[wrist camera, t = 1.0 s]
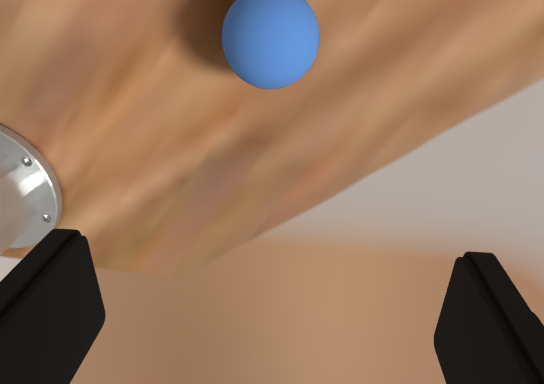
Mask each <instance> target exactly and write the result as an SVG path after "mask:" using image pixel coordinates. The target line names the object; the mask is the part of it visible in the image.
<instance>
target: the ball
mask: <svg viewBox="0 0 544 384" xmlns="http://www.w3.org/2000/svg"><path fill="white" fill-rule="evenodd" d="M222 46H223V51H224V55H225V57H226V60H227V62H228V64H229V65H230V67H231V68H232V70H233V71H234V72H235V73H236V74H237V75H238V76H239V77H240V78H241V79H242V80H244V81H245V82H247V83H248V84H250V85H252V86H255V87H258V88H263V89H278V88H283V87H286V86H288V85H290V84H292V83H294V82H296V81H297V80H299V79H300V78H301V77H302V76H303V75H304V74H305V73H306V72H307V71H308V70H309V68H310V67H311V65H312V63H313V61H314V59H315V57H316V54H317V51H318V46H319V28H318V23H317V20H316V17H315V15H314V13H313V11H312V9H311V7H310V6H309V5H308V3H307V2H306V1H305V0H236V1H235V2H234V3H233V4H232V6H231V7H230V8H229V10H228V12H227V14H226V17H225V19H224V23H223V27H222Z"/></svg>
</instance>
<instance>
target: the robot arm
mask: <svg viewBox="0 0 544 384" xmlns="http://www.w3.org/2000/svg"><path fill="white" fill-rule="evenodd" d="M61 213H62V194H61V190H60V186H59V183H58V181H57V179H56V176H55V174H54V172H53V171H52V169H51V168H50V166H49V164H48V163H47V161H46V160H45V159H44V158H43V157H42V155H41V154H40V153H39V152H38V151H37V150H36V149H35V148H34V147H33V146H32V145H31V144H30V143H29V142H27V141H26V140H25V139H24V138H22V137H21V136H19V135H18V134H16V133H15V132H13V131H12V130H10V129H8V128H6V127H4V126H2V125H0V254H1V253H2V252H4V251H5V250H6V249H7V248H22V247H28V246H31V245H34V244H36V243H38V242H39V243H38V244H37V245H36V246H35V247H34V248H33V249H32V250H31V251H30V252H29V253H28V254H27V255H26V256H25V257H24V258H23V259H22V260H21V261H20V262H19V263H18V264H17V265H16V266H15V267H14V268H13V269H12V270H11V272H9V274H8V275H7V276H6V277H5V278H4V279H3V280H2V281H1V282H0V384H70V382H71V380H72V379H73V377H74V375H75V373H76V372H77V370H78V368H79V366H80V365H81V363H82V361H83V360H84V358H85V356H86V354H87V353H88V351H89V349H90V347H91V346H92V343H93V342H94V340H95V339H96V337H97V335H98V333H99V332H100V330H101V328H102V326H103V324H104V321H105V310H104V305H103V301H102V297H101V293H100V289H99V285H98V281H97V277H96V273H95V269H94V265H93V261H92V257H91V253H90V249H89V245H88V241H87V238H86V237H85V236H81V233H80V232H79V231H78V230H72V229H54V228H55V227H56V225H57V224H58V222H59V220H60V217H61ZM434 347H435V351H436V353H437V357H438V360H439V363H440V366H441V369H442V372H443V375H444V378H445V381H446V384H544V326H543V324H542V323H541V321H540V320H539V318H538V317H537V316H536V315H535V314H534V313H533V312H532V311H531V310H530V308H529V307H528V306H527V304H526V302H525V301H524V299H523V298H522V296H521V295H520V293H519V292H518V290H517V288H516V287H515V285H514V284H513V282H512V281H511V279H510V278H509V276H508V275H507V273H506V272H505V270H504V269H503V267H502V266H501V264H500V263H499V261H498V259H497V258H496V256H495V255H494V254H492V253H483V252H466V253H465V254H464V256H463V257H458V258H457V259H456V261H455V264H454V268H453V271H452V275H451V278H450V282H449V285H448V288H447V292H446V295H445V299H444V302H443V306H442V309H441V313H440V316H439V320H438V323H437V327H436V330H435V334H434Z"/></svg>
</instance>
